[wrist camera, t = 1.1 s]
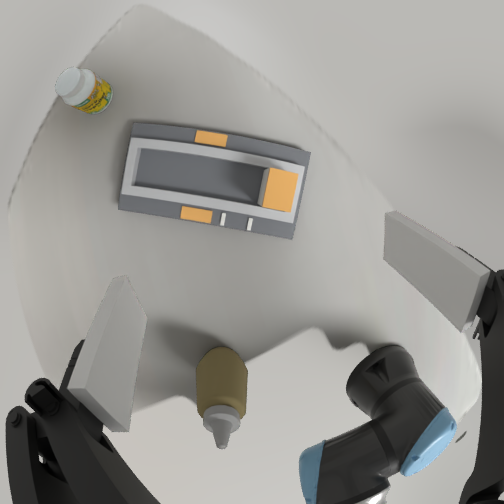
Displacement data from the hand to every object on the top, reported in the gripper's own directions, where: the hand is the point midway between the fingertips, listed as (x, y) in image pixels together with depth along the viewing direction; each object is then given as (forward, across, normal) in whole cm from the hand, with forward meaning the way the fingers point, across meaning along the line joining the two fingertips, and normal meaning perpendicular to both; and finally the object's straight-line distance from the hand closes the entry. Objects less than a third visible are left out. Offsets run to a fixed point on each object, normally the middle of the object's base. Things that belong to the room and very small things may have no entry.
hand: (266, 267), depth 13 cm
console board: (+26, +2, 0) cm, 26 cm away
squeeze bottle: (+20, +8, +28) cm, 35 cm away
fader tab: (+23, -5, +3) cm, 23 cm away
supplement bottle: (+30, +16, -17) cm, 38 cm away
